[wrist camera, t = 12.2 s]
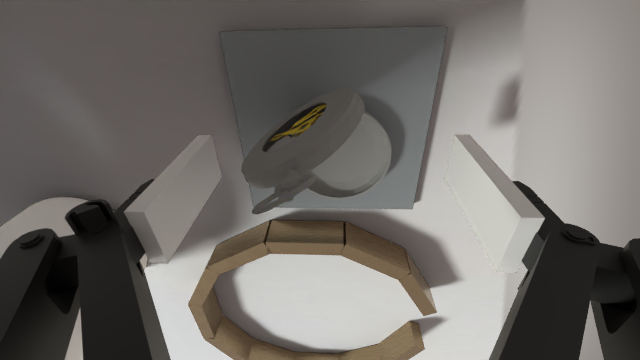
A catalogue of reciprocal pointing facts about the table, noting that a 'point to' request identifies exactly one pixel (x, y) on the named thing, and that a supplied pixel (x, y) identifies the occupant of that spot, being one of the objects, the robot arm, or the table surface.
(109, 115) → the table surface
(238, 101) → the coaster
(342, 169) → the pocket watch
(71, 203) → the cup
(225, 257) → the c ring
